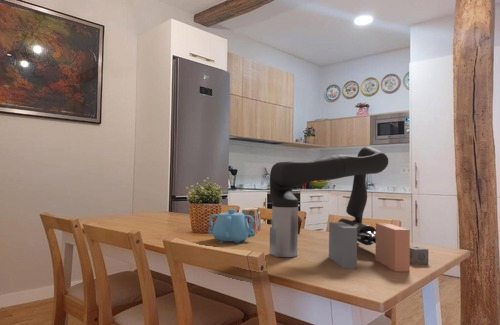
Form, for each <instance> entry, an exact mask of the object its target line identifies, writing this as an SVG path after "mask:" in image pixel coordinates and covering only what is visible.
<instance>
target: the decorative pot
mask: <svg viewBox="0 0 500 325" xmlns="http://www.w3.org/2000/svg"><path fill="white" fill-rule="evenodd" d="M227 211H228V212H219V213H218V214H217V213H214V214H211V215H210V217H209V219H208V220H209V224H210V227H209V228H208V234H210V235H212V237H213V238H214V239H215V240H216V241H219V243H226V242H233V243H235V244H240V243H241V242H242V241H246V240H247V238H248V237H252V236H251V235H254V230H253V229H251V228H252V226H253V222H254V220H253V218H252V217H251V216H250V215H244V214H243V213H242V212H236V208H228V209H227ZM214 217H216V219H215V221H214V224H213V218H214ZM246 217H249V218H250V219H251V224H250V227H249V226H248V222H247V220H246ZM250 231H252V233H250ZM248 235H250V236H248Z"/></svg>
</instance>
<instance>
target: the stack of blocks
mask: <svg viewBox="0 0 500 325" xmlns="http://www.w3.org/2000/svg"><path fill="white" fill-rule="evenodd" d="M241 213H243V214H244V215H250V216H251V217H252V218H253V220H254V222H253V226H252V228H251V229H253V230H254V235H251V236H250V235H248V237H255V236H256V235H257V234H258V233H259V232H260V231H261V222H262V221H261V220H262V219H261V211H259V207H253V206H252V207H249V206H248V207H245V208H243V209H242V210H241ZM246 220H247V222H248V226H249V227H250V224H251V219H250V218H249V217H246ZM258 231H259V232H258ZM250 233H252V231H250Z"/></svg>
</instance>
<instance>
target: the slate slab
mask: <svg viewBox="0 0 500 325" xmlns="http://www.w3.org/2000/svg"><path fill="white" fill-rule="evenodd" d="M328 226H329V227H328V229H329V230H328V259H330V260H332V261H333V262H334V263H336V265H337V266H339V267H341V269H357V266H358V241H357V228H356V227H353V226H351V225H349V224H346V223H344V222H338V221H329V222H328Z"/></svg>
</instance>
